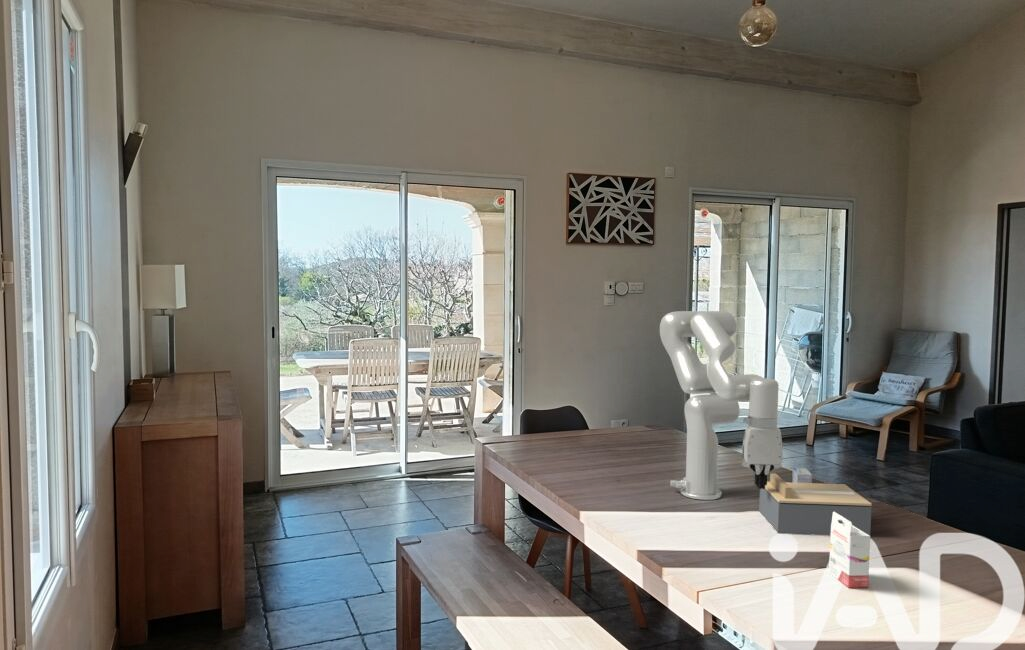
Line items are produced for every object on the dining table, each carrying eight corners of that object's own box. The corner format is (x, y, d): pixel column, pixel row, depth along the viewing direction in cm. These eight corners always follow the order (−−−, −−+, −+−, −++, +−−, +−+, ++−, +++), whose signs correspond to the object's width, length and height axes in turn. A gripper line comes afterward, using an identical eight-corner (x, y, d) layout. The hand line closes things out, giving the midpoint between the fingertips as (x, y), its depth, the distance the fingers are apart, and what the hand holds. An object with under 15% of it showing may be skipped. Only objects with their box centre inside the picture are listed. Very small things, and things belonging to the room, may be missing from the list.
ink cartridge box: (869, 588, 156) (872, 522, 155) (848, 588, 155) (851, 523, 155) (848, 572, 164) (850, 510, 163) (827, 572, 164) (830, 510, 163)
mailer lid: (778, 502, 189) (779, 489, 189) (760, 483, 207) (760, 471, 206) (871, 505, 187) (872, 492, 187) (844, 486, 205) (845, 474, 205)
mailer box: (777, 533, 189) (778, 503, 189) (759, 511, 207) (760, 484, 207) (870, 536, 188) (871, 507, 187) (843, 514, 206) (844, 487, 205)
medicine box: (811, 502, 217) (812, 474, 216) (796, 501, 218) (797, 473, 217) (806, 494, 224) (807, 468, 224) (791, 493, 225) (792, 467, 225)
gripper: (738, 424, 193) (736, 490, 195) (794, 426, 192) (792, 492, 193) (732, 419, 201) (730, 482, 202) (786, 421, 200) (783, 484, 201)
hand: (760, 487), depth 198 cm, fingers closed
